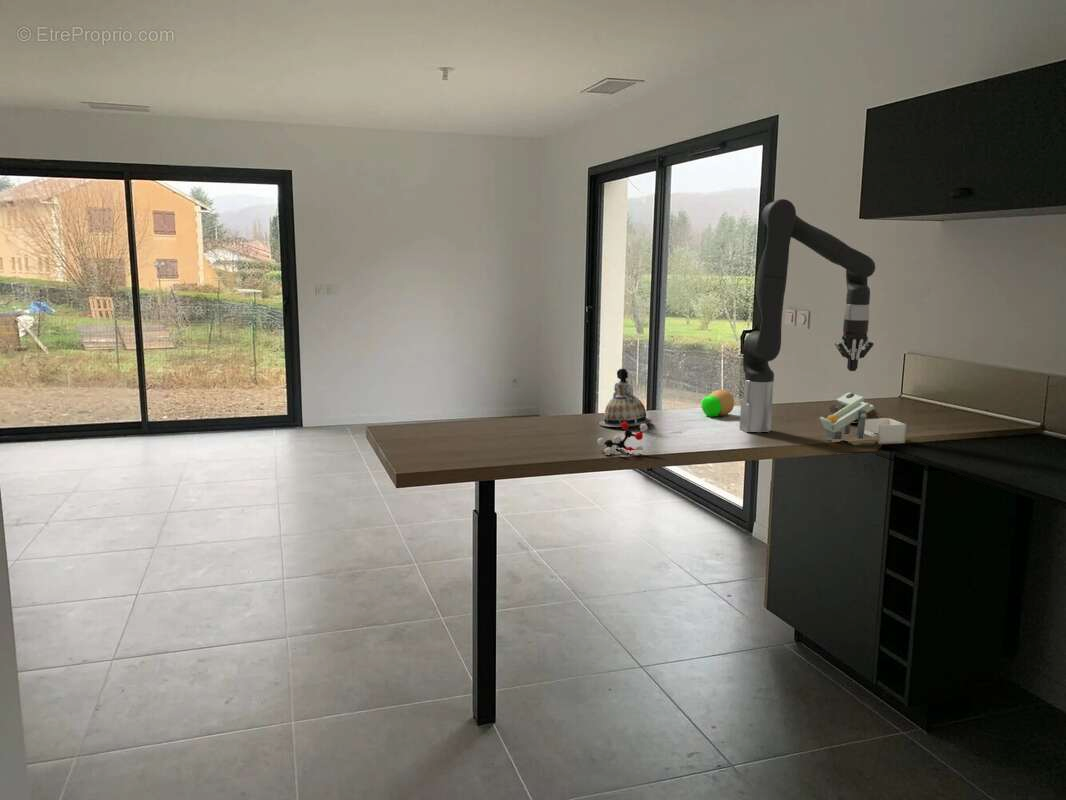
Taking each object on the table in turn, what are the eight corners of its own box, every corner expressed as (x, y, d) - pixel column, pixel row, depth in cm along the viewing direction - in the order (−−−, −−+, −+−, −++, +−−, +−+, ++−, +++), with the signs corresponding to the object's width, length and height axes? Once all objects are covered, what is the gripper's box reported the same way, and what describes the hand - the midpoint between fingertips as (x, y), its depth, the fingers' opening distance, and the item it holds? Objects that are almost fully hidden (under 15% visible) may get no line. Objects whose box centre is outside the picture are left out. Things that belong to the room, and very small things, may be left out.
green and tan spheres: (737, 386, 285) (713, 395, 279) (741, 412, 286) (718, 421, 280) (714, 386, 295) (691, 395, 289) (719, 411, 296) (696, 420, 290)
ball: (830, 426, 248) (830, 416, 248) (824, 423, 251) (825, 414, 251) (839, 425, 249) (840, 415, 248) (834, 423, 252) (834, 413, 251)
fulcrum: (840, 446, 245) (843, 413, 243) (819, 436, 257) (821, 404, 255) (874, 444, 247) (877, 412, 245) (851, 435, 259) (854, 403, 257)
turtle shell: (850, 412, 269) (822, 390, 287) (846, 436, 272) (818, 413, 290) (894, 409, 271) (863, 388, 289) (889, 433, 274) (859, 411, 293)
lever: (834, 432, 247) (829, 422, 246) (807, 420, 264) (802, 410, 263) (879, 404, 248) (875, 394, 247) (849, 394, 265) (845, 384, 264)
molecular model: (612, 469, 232) (599, 440, 229) (604, 460, 240) (592, 432, 237) (658, 446, 233) (646, 417, 230) (649, 438, 241) (637, 410, 238)
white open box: (878, 444, 248) (880, 425, 247) (861, 437, 257) (863, 419, 256) (904, 443, 249) (906, 424, 248) (887, 436, 258) (889, 418, 257)
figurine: (590, 422, 278) (592, 365, 276) (637, 420, 284) (639, 365, 281) (611, 431, 261) (614, 371, 258) (661, 429, 267) (664, 371, 264)
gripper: (844, 319, 252) (839, 373, 255) (881, 319, 254) (877, 372, 257) (831, 317, 259) (827, 369, 262) (868, 316, 261) (864, 368, 265)
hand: (852, 370), depth 260 cm, fingers closed
